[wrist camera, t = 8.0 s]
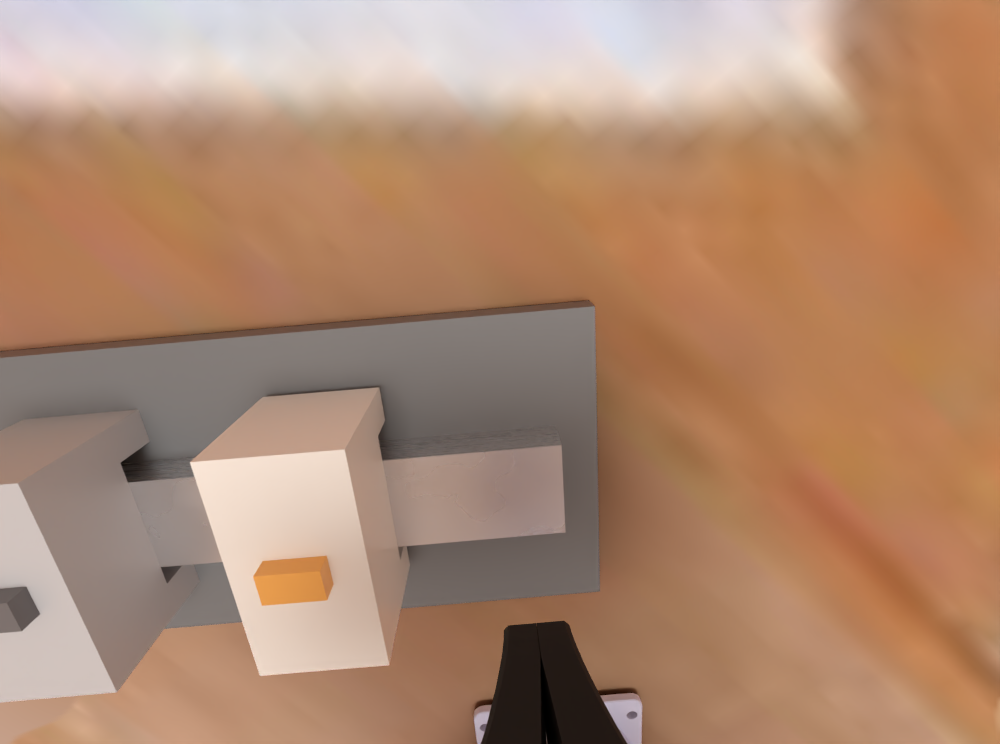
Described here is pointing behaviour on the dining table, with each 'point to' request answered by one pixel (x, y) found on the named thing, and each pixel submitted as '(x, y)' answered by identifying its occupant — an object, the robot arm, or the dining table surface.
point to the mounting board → (408, 414)
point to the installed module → (77, 559)
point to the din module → (307, 530)
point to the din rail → (393, 492)
